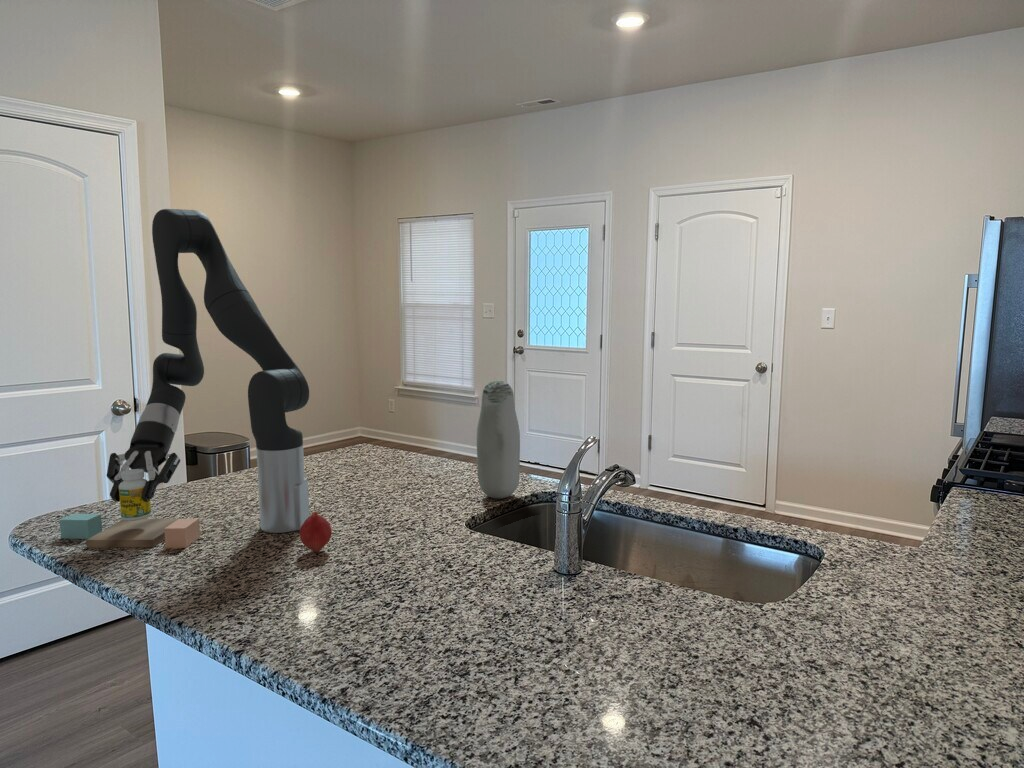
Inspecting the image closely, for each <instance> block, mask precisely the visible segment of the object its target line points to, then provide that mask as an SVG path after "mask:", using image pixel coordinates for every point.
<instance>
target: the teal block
mask: <svg viewBox="0 0 1024 768" xmlns="http://www.w3.org/2000/svg"><path fill="white" fill-rule="evenodd" d="M102 522H103V521H102V514H101V513H71V514H70V515H68V516H65V517H63V518H60V519H59V530H60V538H61V539H79V540H80V539H83V540H87V539H89V538H91V537H93V536H94V535H96V534H98V533H100V532H101V531H103V523H102Z"/></svg>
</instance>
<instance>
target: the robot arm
mask: <svg viewBox="0 0 1024 768" xmlns="http://www.w3.org/2000/svg"><path fill="white" fill-rule="evenodd" d="M217 233H218V232H217V231H216V229H215V227H214V225H213V223H212V222H211V220H210V218H209V217H208V216H207V215H206V214H205V213H204V212H202V211H199V210H196V209H180V208H179V209H178V208H164V209H160V210H158V211H157V212H156V213H155V215H154V216H153V220H152V225H151V235H152V243H153V251H154V258H155V264H156V271H157V275H158V282H159V287H160V288H159V289H160V295H161V297H160V298H161V338H162V341H163V343H164V344H166V345H168V346H171V347H173V348H176V349H178V350H179V351H181V353H182V354H179V353H172V352H163V353H161V354H159V355H158V356H157V357H155V358H154V360H153V365H152V386H151V390H150V394H149V398H148V400H147V403H146V405H145V408H144V409H143V411H142V413H141V415H140V417H139V420H138V422H137V425H136V427H135V429H134V431H133V435H132V436H131V440H130V445H129V448H128V449H127V450H126V451H125V453H122V454H117V453H116V452H113V453H110V455H109V460H108V465H107V469H106V470H107V472H106V477H107V479H108V480H109V481H110V482H111V483H112V484H113V485H112V488H111V489H110V493H109V497H110V498H111V500H113V502H115V503H120V497H119V484H120V483H121V482H123V480H122V478H121V472H123V471H126V470H131V469H143V470H144V473H146V474H147V477H148V480H147V482H146V484H145V487H144V490H143V493H142V496H141V498H142V499H143V500H144V502H149V501H150V502H151V500H152V499H153V497H154V496H155V493H156V490H157V487H158V486H159V485H160V484H168V483H169V482H170V481H171V479H172V477H173V475H174V473H175V471H176V470H177V468H178V466H179V465H180V463H181V459H180V457H179V455H178V454H177V453H176V452H172V453H169V452H170V450H171V446H172V444H173V441H174V437H175V435H176V432H177V431H178V427H179V426H178V425H179V421H180V417H181V414H182V410H183V409H184V405H185V402H186V399H187V398H186V397H187V396H186V393H185V392H184V390H182V389H181V387H180V388H179V387H178V386H183V387H184V386H186V387H195V386H198V385H199V384H200V383H201V382H202V381H203V379H204V375H205V367H204V366H205V365H204V362H203V359H202V356H201V353H200V348H199V343H198V338H197V328H198V327H197V325H198V324H197V323H198V321H197V320H198V319H197V318H198V313H197V306H196V302H195V300H194V299H193V296H192V295H191V293H190V292H189V289H188V288H187V286H186V284H185V282H184V281H183V278H182V276H181V273H180V269H179V254H192V253H193V254H195V255H196V257H197V258H198V259H199V261H200V263H201V264H202V266H203V269H204V271H205V282H204V283H205V284H204V291H203V302H204V303H203V304H204V306H205V309H206V311H207V313H208V315H209V317H210V318H211V320H212V321H213V323H214V325H215V327H216V328H217V330H218V331H219V332H220V333H221V335H223V337H225V338H226V339H227V340H228V341H230V342H231V343H232V344H234V345H235V346H237V348H239V349H240V350H242V351H243V352H244V353H246V354H247V355H249V356H250V357H251V358H252V359H253V360H254V361H255V362H256V364H258V366H259V367H260V368H261V371H258V372H256V373H254V374H253V375H252V377H251V378H250V380H249V384H248V386H247V400H248V401H247V402H248V410H249V411H248V413H249V420H250V428H251V433H252V436H253V437H254V440H255V447H256V449H255V450H256V466H257V468H256V469H257V483H258V484H257V486H258V502H259V503H258V504H259V522H260V530H261V531H263V532H265V533H270V534H279V533H280V534H282V533H290V532H294V531H300V528H301V526H302V525H303V523H304V521H305V520H306V519H307V518H308V517H309V516H310V500H309V479H308V478H307V477H305V458H304V457H305V455H304V437H303V432H302V431H301V430H299V429H297V428H293V427H290V426H289V425H288V422H287V420H286V419H287V418H286V417H287V416H286V413H289V412H290V413H291V412H295V411H298V410H301V409H302V408H304V407H306V405H307V404H308V402H309V400H310V399H309V398H310V389H309V388H310V386H309V384H308V381H307V379H306V377H305V375H304V374H303V372H302V370H301V369H300V367H298V365H297V364H296V362H295V361H294V360H293V359H292V357H291V356H290V355H289V353H288V352H287V350H285V348H284V347H283V345H282V344H281V343H280V341H279V340H278V338H277V337H276V335H275V334H274V332H273V331H272V329H271V328H270V327H271V326H270V325H269V324H268V323H267V321H266V320H265V318H264V317H263V314H262V313H261V311H260V309H259V307H258V305H257V303H256V302H255V300H254V299H253V297H252V295H251V294H250V292H249V291H248V290H247V287H246V286H245V285H244V283H243V282H242V280H241V278H240V277H239V275H238V272H237V271H236V269H235V267H234V266H233V264H232V262H231V261H230V258H229V256H228V255H227V253H226V250H225V247H224V246H223V243H222V241H221V239H220V237H219V235H218V234H217ZM163 463H164V465H163V466H162V468H161V469H160V468H159V467H160V466H161V465H162V464H163Z"/></svg>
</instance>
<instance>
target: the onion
mask: <svg viewBox="0 0 1024 768" xmlns="http://www.w3.org/2000/svg"><path fill="white" fill-rule="evenodd" d="M299 538H300V541H301V543H302V544H303V546H305V547H306V548H308V549H309V550H311V551H312V552H314V553H320V551H321V550H322V549H323V548H324V547H325V546H326V545H327V544H328V543H329V542H330V540H331V538H332V526H331V524H330V522H329V521H328V520H327V518H325V517H323V515H322V516H321V515H319V512H318V510H314V511H313V513H312V514H310V515H309V517H308V518H307V519H306V520H305V521H304V523H303V525H302V526H301V528H300V530H299Z"/></svg>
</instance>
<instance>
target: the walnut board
mask: <svg viewBox="0 0 1024 768" xmlns="http://www.w3.org/2000/svg"><path fill="white" fill-rule="evenodd" d="M178 519H186V518H183V517H181V518H178V517H177V518H145V519H141V520H136V521H125V520H123V519H121V520H119V521H117V522H116V523H114V524H111V525H110V526H109V527H107V528H105V529H102V531H101V532H100V533H98V534H96V535H94V536H93V537H91V538H89V539H85V545H86V546H85V547H86V548H87V549H90V548H93V549H96V548H99V549H100V548H101V549H102V548H104V549H105V548H155V547H156V546H157V545H158V544H159V545H160V543H162V542H163V541H165V532H164V528H166V527H167V526H169V525H170V524H172V523H173V522H175V521H176V520H178Z"/></svg>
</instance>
